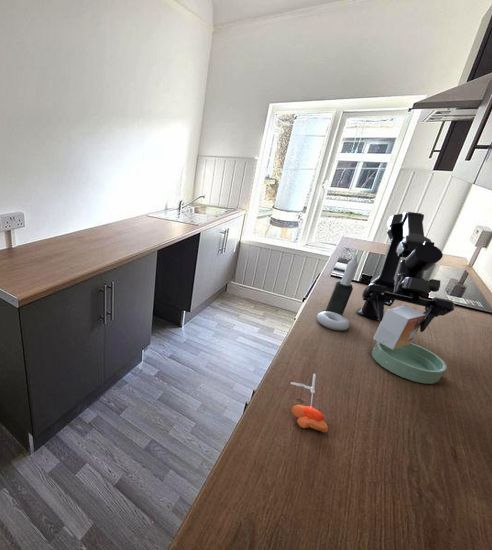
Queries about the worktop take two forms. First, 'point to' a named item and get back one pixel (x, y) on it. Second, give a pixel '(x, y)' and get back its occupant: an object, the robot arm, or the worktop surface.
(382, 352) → the bowl
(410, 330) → the small box
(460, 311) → the worktop surface
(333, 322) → the donut
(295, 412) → the orange lobed stemmed ornament
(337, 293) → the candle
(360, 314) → the robot arm
